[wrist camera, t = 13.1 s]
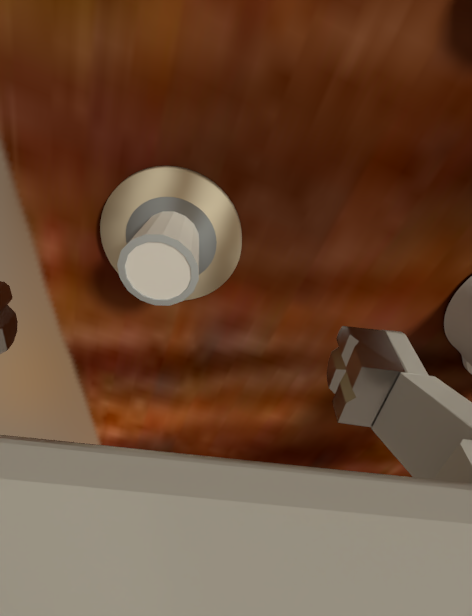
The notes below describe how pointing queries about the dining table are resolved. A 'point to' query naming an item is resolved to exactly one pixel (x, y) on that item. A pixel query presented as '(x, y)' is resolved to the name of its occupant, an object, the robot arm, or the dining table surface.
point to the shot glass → (161, 260)
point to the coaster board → (184, 200)
